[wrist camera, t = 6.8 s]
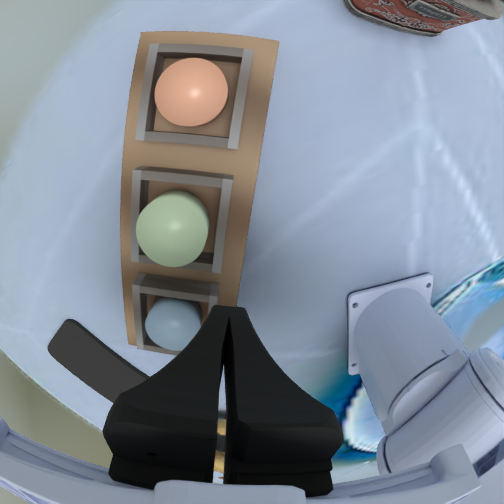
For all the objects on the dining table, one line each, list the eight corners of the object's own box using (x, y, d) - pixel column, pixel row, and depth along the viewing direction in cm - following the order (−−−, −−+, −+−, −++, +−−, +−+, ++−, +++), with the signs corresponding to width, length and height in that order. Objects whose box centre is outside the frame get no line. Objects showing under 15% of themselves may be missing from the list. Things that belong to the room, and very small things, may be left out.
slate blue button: (200, 337, 20) (198, 354, 19) (152, 330, 20) (146, 346, 18) (204, 295, 19) (201, 311, 17) (151, 288, 19) (143, 303, 17)
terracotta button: (223, 129, 15) (221, 129, 13) (159, 124, 15) (150, 124, 13) (233, 68, 14) (232, 61, 12) (169, 63, 13) (160, 56, 12)
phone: (68, 316, 22) (190, 407, 27) (72, 311, 23) (191, 401, 27) (44, 350, 24) (151, 427, 28) (47, 345, 24) (152, 421, 29)
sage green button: (206, 256, 17) (202, 271, 15) (145, 248, 16) (135, 262, 15) (213, 194, 15) (210, 202, 14) (147, 187, 15) (136, 194, 13)
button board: (228, 342, 24) (227, 373, 20) (135, 329, 23) (122, 357, 20) (275, 49, 15) (283, 32, 12) (150, 40, 14) (132, 24, 11)
